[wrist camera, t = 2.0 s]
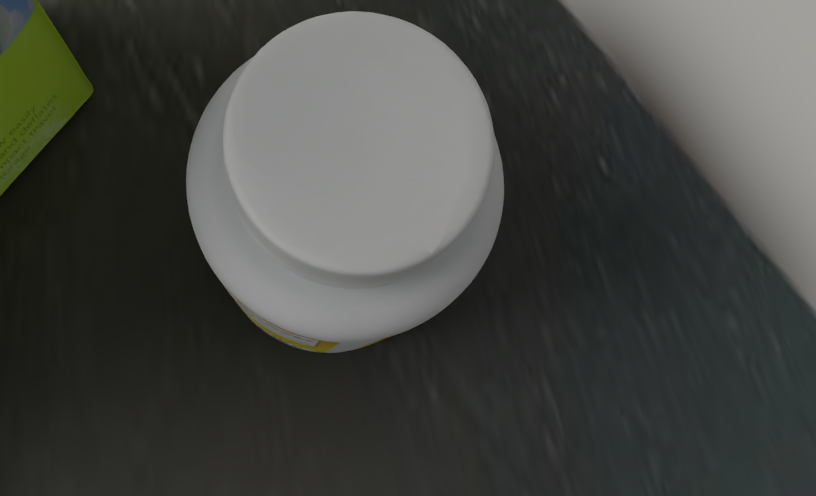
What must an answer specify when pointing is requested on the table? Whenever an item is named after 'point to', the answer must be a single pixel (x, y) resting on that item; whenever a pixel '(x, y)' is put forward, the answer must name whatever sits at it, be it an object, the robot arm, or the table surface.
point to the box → (33, 85)
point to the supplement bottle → (346, 181)
